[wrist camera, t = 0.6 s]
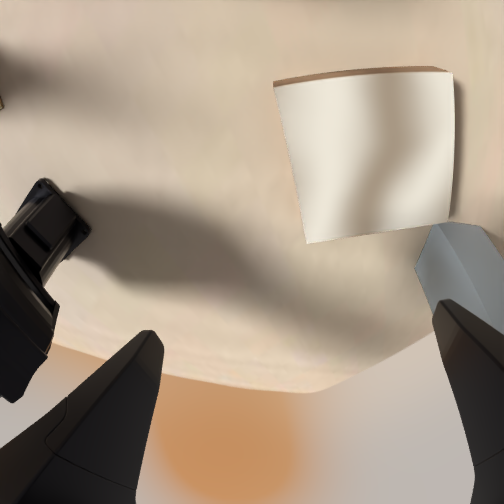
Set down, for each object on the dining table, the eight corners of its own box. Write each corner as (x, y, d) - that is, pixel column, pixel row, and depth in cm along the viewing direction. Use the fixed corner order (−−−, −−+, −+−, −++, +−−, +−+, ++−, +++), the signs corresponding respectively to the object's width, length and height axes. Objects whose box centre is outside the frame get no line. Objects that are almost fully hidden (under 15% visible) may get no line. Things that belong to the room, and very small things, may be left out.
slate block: (414, 268, 24) (458, 395, 15) (434, 219, 21) (503, 350, 12) (458, 270, 24) (507, 384, 15) (480, 226, 21) (549, 342, 12)
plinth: (303, 222, 22) (306, 244, 20) (273, 81, 16) (273, 88, 14) (434, 202, 20) (447, 222, 18) (433, 66, 14) (452, 72, 12)
